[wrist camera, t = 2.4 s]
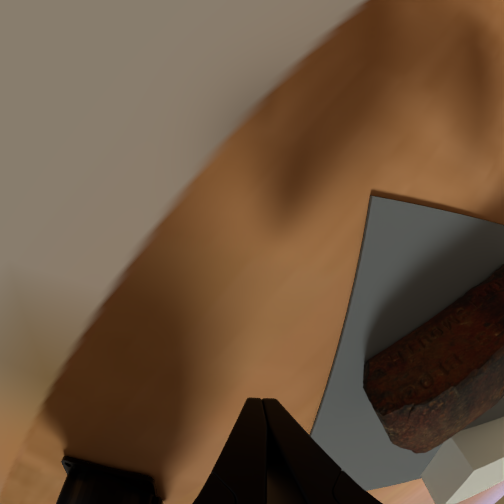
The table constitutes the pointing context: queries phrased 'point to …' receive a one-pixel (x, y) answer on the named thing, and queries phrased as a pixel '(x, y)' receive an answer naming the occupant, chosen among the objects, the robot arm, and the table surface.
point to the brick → (442, 370)
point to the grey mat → (398, 325)
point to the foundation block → (467, 463)
